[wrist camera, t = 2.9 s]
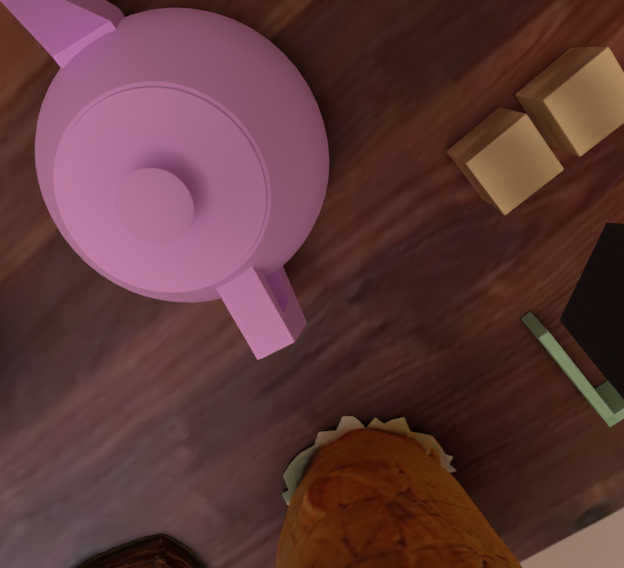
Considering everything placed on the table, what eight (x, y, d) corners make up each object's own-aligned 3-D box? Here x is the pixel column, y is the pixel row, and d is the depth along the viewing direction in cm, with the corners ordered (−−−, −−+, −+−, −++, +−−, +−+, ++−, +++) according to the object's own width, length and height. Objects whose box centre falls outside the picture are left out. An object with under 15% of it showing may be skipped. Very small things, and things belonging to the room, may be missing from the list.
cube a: (571, 46, 32) (608, 46, 28) (604, 100, 33) (644, 107, 29) (513, 94, 32) (542, 100, 29) (548, 145, 34) (580, 157, 30)
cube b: (499, 106, 33) (526, 113, 29) (534, 156, 34) (564, 169, 30) (445, 151, 34) (465, 163, 30) (481, 198, 35) (504, 216, 31)
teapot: (394, 234, 35) (445, 317, 24) (200, 348, 38) (166, 470, 27) (190, -115, 28) (128, -226, 17) (-37, 60, 30) (-222, 65, 19)
